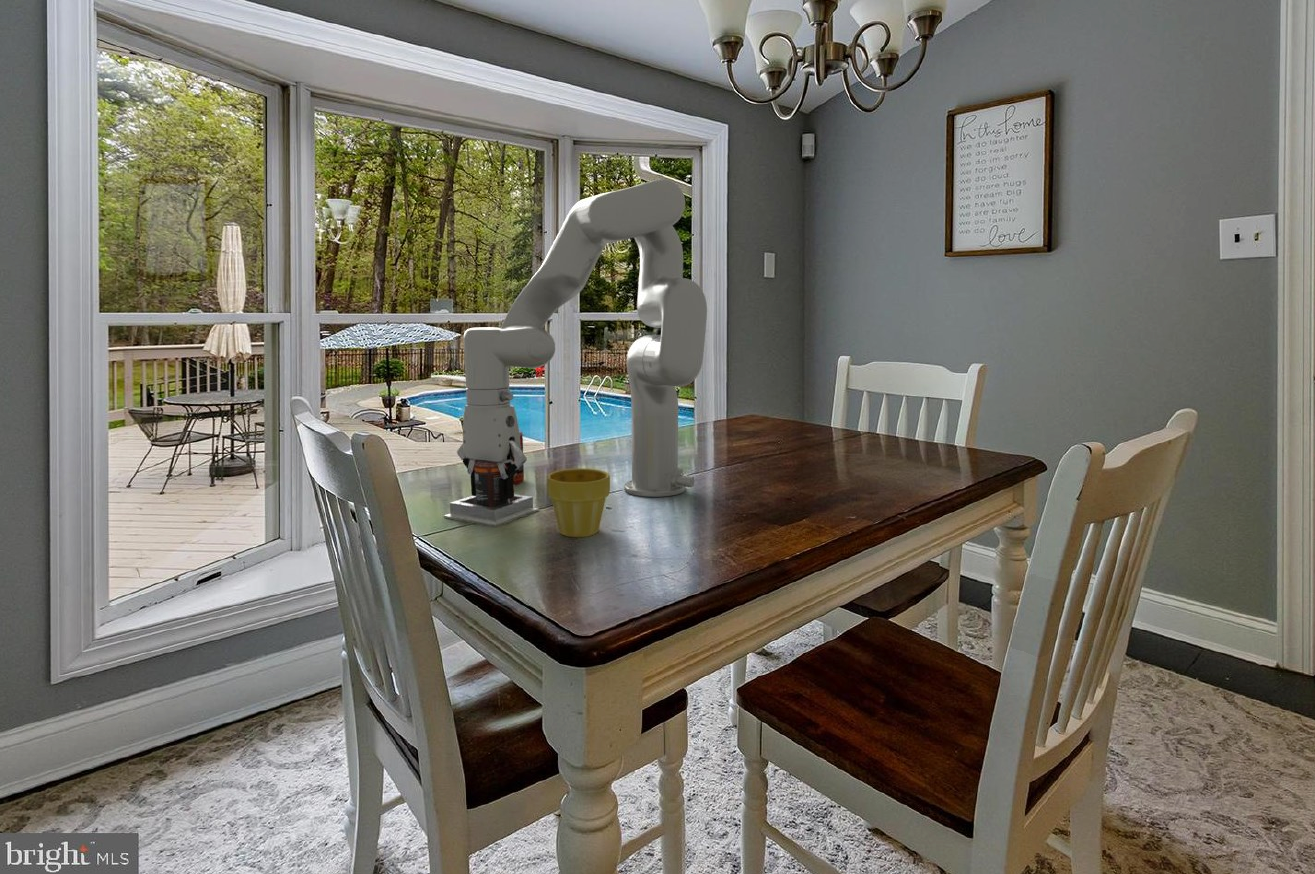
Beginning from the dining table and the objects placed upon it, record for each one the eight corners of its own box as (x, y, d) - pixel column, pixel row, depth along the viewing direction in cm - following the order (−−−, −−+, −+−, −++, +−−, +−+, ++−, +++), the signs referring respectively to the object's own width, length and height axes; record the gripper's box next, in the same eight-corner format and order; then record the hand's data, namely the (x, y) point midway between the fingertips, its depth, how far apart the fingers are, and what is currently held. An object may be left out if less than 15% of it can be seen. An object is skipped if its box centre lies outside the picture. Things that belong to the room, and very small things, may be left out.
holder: (539, 510, 136) (538, 496, 136) (495, 527, 126) (494, 511, 125) (489, 502, 142) (489, 488, 141) (444, 517, 131) (443, 503, 131)
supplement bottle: (516, 506, 135) (513, 446, 133) (499, 515, 130) (496, 452, 128) (487, 503, 137) (485, 444, 135) (469, 512, 132) (466, 450, 130)
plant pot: (611, 540, 119) (610, 481, 117) (546, 541, 118) (544, 482, 116) (610, 522, 129) (609, 467, 127) (550, 523, 128) (549, 468, 126)
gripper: (540, 398, 129) (543, 497, 132) (467, 393, 138) (471, 486, 141) (512, 403, 123) (516, 507, 126) (437, 397, 131) (442, 495, 134)
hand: (492, 495), depth 133 cm, fingers closed on supplement bottle, 6 cm apart
